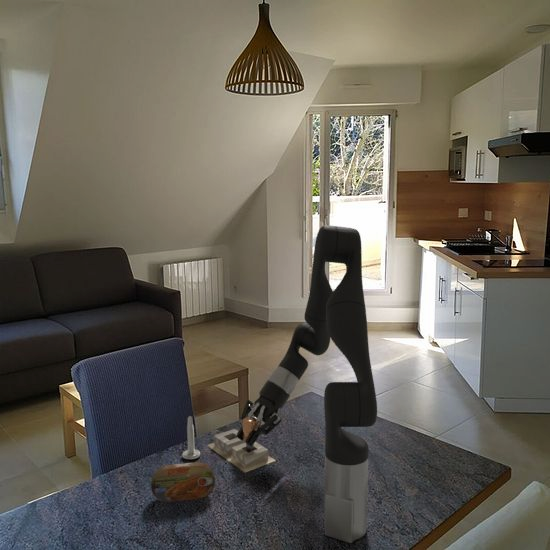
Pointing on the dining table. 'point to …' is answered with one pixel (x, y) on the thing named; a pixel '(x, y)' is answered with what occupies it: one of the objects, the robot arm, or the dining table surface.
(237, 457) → the white peg insertion board
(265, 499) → the dining table surface
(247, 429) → the copper-coloured round peg
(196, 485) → the tin
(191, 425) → the screw
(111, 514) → the dining table surface
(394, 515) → the dining table surface
